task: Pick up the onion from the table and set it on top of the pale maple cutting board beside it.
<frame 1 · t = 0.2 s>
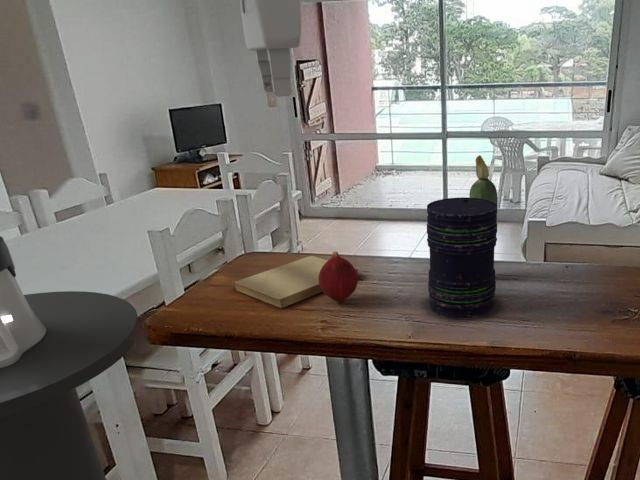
hand: (276, 93, 66), 30 cm above the counter, tool pointing down, fingers open, 8 cm apart
cutting board: (298, 283, 95), on the counter
vegetable: (482, 278, 95), on the counter
storage jar: (461, 306, 85), on the counter
onion: (340, 302, 87), on the counter
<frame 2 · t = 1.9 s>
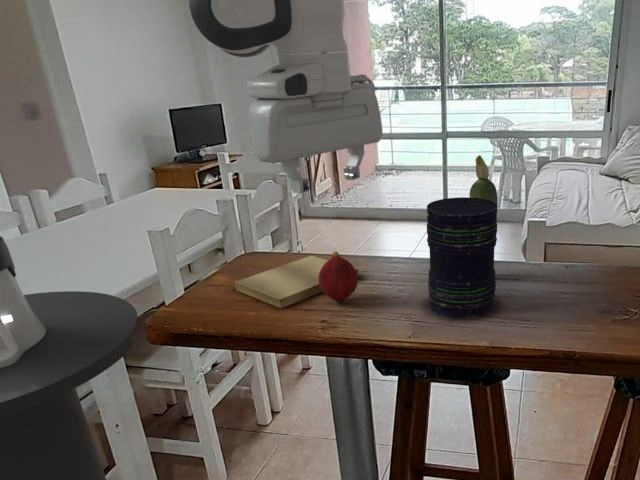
hand: (327, 185, 80), 18 cm above the counter, tool pointing down, fingers open, 8 cm apart
nothing on the counter moved.
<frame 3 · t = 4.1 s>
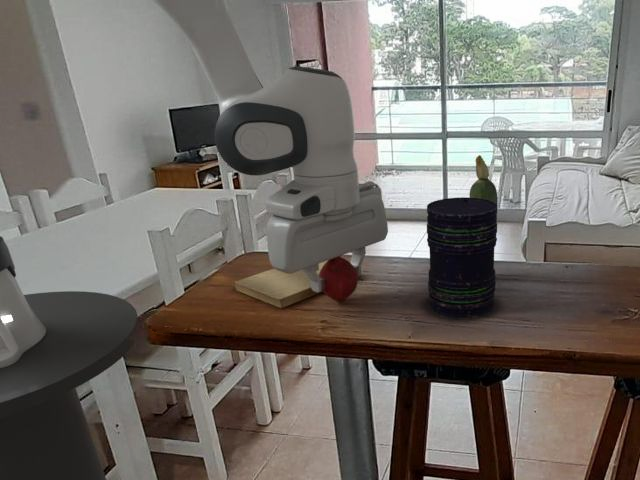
hand: (337, 283, 86), 3 cm above the counter, tool pointing down, fingers closed on onion, 6 cm apart
onion: (340, 302, 87), on the counter, touching gripper
everything else where it was.
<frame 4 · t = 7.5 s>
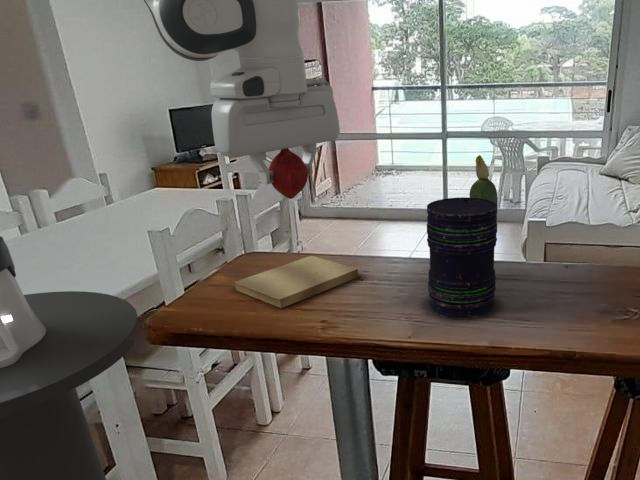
hand: (287, 179, 87), 17 cm above the counter, tool pointing down, fingers closed on onion, 6 cm apart
onion: (291, 199, 88), point 14 cm above the counter, touching gripper
everything else where it was.
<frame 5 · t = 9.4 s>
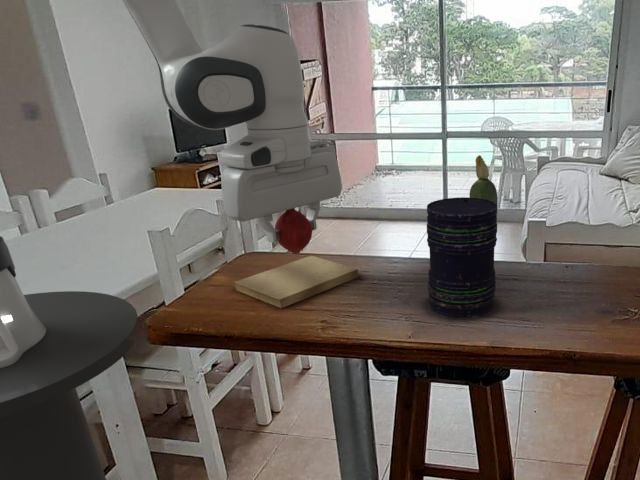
hand: (292, 235, 91), 8 cm above the counter, tool pointing down, fingers closed on onion, 6 cm apart
onion: (296, 254, 92), point 5 cm above the counter, touching gripper
everything else where it was.
when the fingers open (4 cm above the counter, at t = 10.9 s): onion stays where it is, resting on cutting board.
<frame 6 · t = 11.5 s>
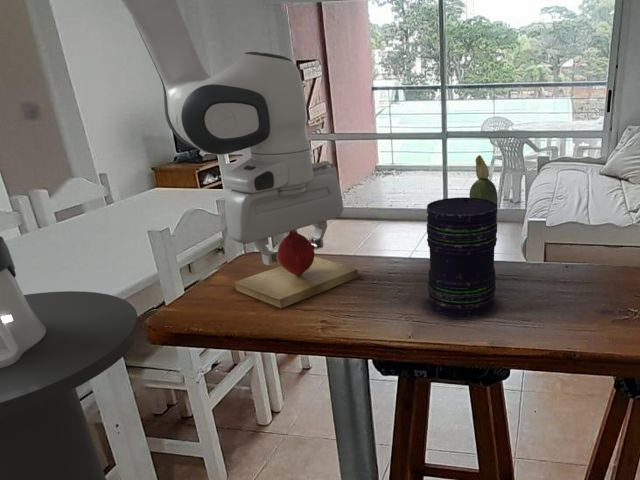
hand: (294, 255, 93), 5 cm above the counter, tool pointing down, fingers open, 8 cm apart
onion: (299, 276, 94), point 1 cm above the counter, touching cutting board
everything else where it was.
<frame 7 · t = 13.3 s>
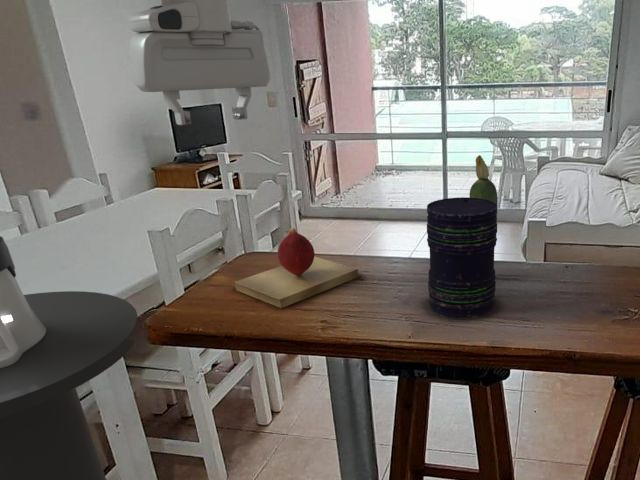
hand: (213, 121, 87), 26 cm above the counter, tool pointing down, fingers open, 8 cm apart
nothing on the counter moved.
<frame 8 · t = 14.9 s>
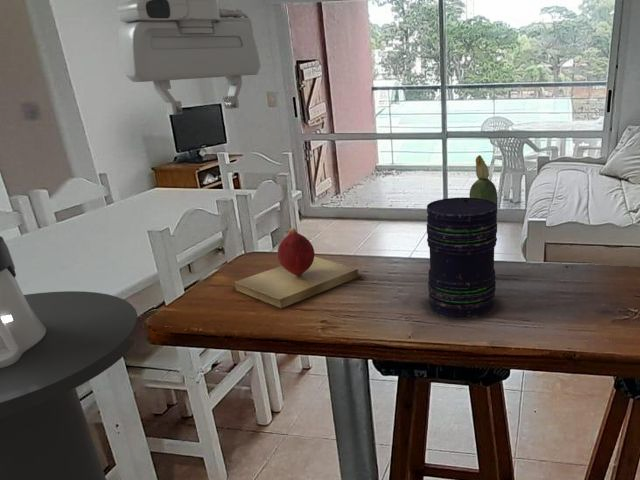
hand: (204, 111, 87), 27 cm above the counter, tool pointing down, fingers open, 8 cm apart
nothing on the counter moved.
at the end: onion inside the target area on the cutting board (0.4 cm from its centre), point 1.3 cm above the cutting board's base; onion tilted 0°; the gripper is holding nothing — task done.
